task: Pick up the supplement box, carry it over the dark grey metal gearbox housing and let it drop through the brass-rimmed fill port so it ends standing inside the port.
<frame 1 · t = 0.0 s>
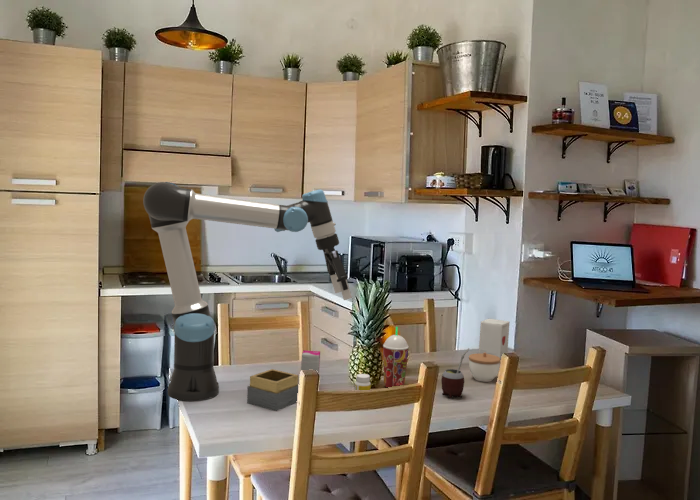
hand: (343, 295, 214), 28 cm above the table, tool tilted 20°, fingers open, 13 cm apart
smoothie: (394, 387, 206), on the table
supplement box 2: (492, 359, 247), on the table
lidded jar: (483, 379, 219), on the table
mate gourd: (452, 396, 199), on the table
supplement bottle: (362, 403, 189), on the table
supplement box: (309, 388, 202), on the table
gearbox housing: (273, 402, 187), on the table
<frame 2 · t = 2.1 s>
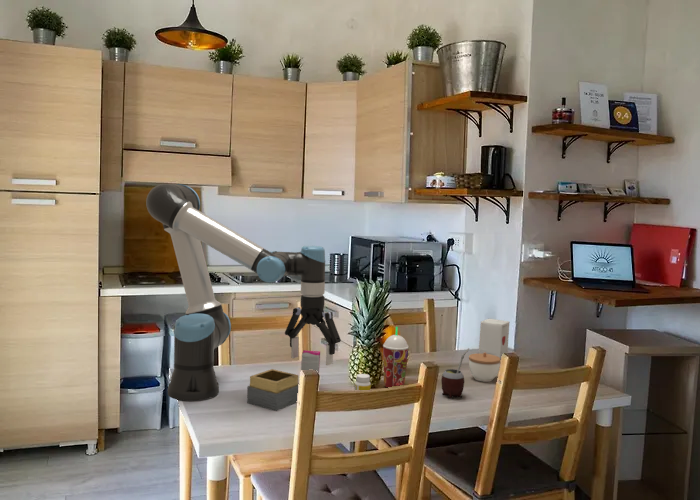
hand: (311, 360, 201), 9 cm above the table, tool pointing down, fingers open, 13 cm apart
nothing on the table moved.
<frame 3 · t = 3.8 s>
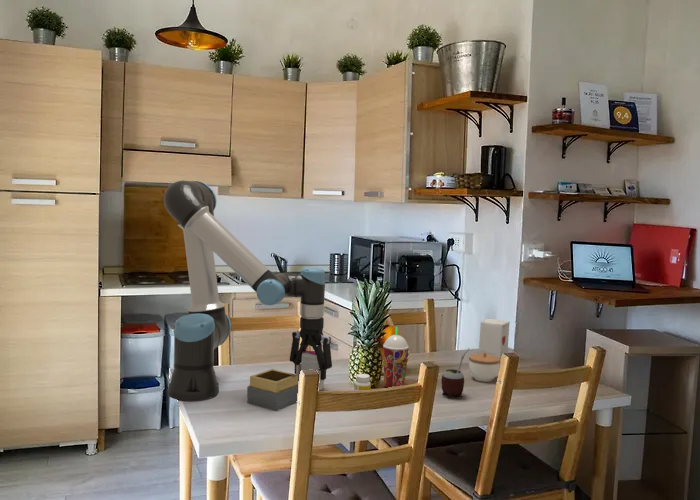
hand: (309, 386, 202), 0 cm above the table, tool pointing down, fingers closed on supplement box, 8 cm apart
supplement box: (309, 388, 202), on the table, touching gripper
everything else where it was.
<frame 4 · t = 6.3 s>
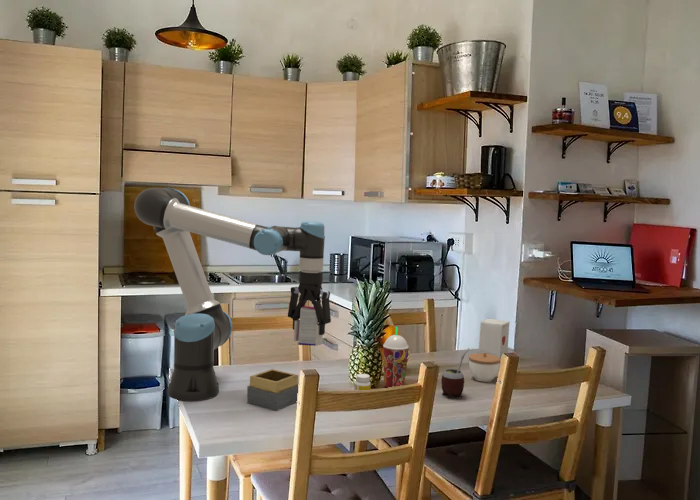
hand: (307, 342, 200), 15 cm above the table, tool pointing down, fingers closed on supplement box, 8 cm apart
supplement box: (307, 343, 200), point 14 cm above the table, touching gripper
everything else where it was.
when the fingers open (10 cm above the table, at t = 9.1 s): supplement box drops 9 cm, resting in gearbox housing.
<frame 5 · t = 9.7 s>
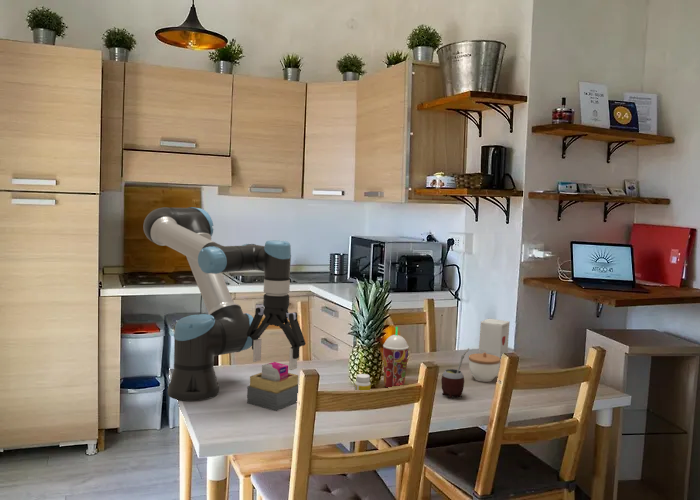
hand: (274, 365, 186), 11 cm above the table, tool pointing down, fingers open, 13 cm apart
supplement box: (273, 403, 186), resting in gearbox housing
everything else where it was.
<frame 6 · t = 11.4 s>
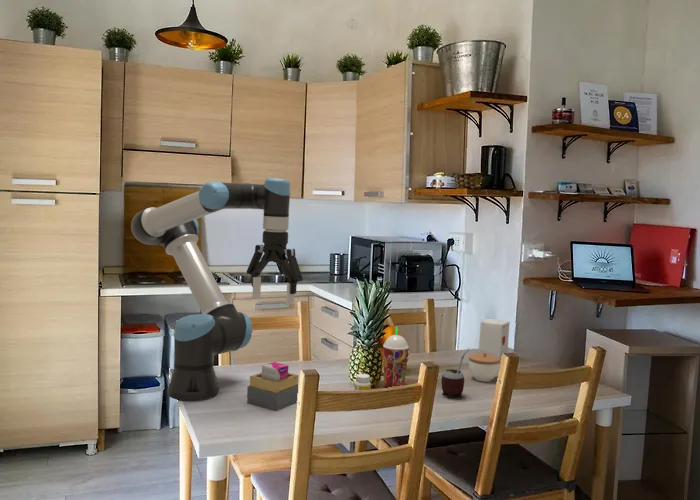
hand: (272, 301, 189), 29 cm above the table, tool pointing down, fingers open, 13 cm apart
nothing on the table moved.
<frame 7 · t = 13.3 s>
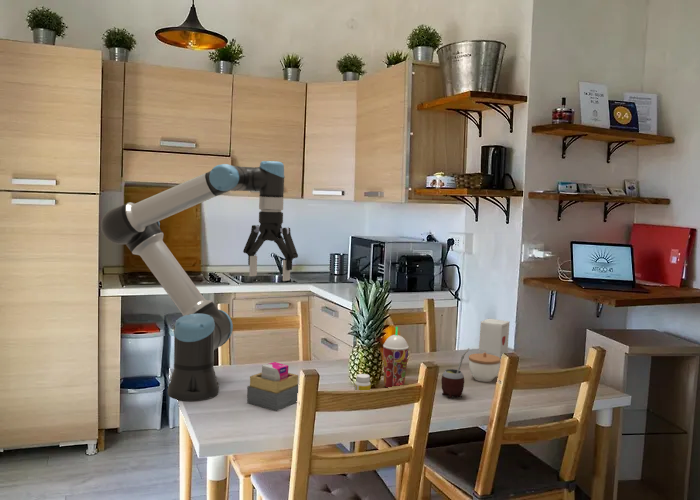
hand: (269, 278, 199), 35 cm above the table, tool pointing down, fingers open, 13 cm apart
nothing on the table moved.
at the end: supplement box 0.7 cm off-centre on the gearbox housing, point 0.0 cm above the gearbox housing's base; supplement box tilted 0°; the gripper is holding nothing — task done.
